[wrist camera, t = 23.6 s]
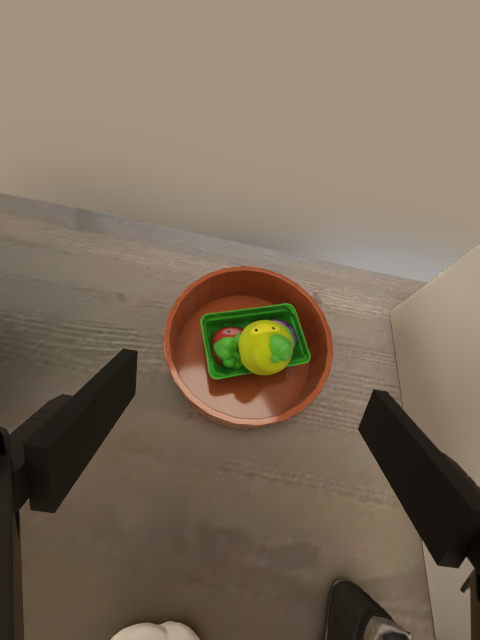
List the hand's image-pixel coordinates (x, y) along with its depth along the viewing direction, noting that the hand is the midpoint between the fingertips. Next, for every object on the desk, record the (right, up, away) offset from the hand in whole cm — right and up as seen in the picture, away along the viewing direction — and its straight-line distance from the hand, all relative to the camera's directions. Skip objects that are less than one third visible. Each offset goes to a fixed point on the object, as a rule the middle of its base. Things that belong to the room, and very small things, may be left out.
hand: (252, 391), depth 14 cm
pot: (0, 0, +19) cm, 19 cm away
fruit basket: (+1, -1, +19) cm, 19 cm away
